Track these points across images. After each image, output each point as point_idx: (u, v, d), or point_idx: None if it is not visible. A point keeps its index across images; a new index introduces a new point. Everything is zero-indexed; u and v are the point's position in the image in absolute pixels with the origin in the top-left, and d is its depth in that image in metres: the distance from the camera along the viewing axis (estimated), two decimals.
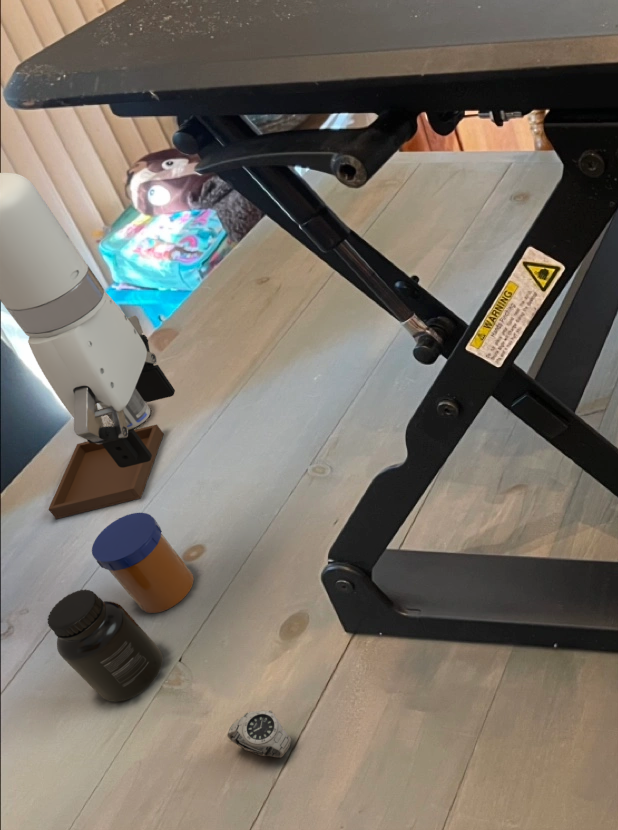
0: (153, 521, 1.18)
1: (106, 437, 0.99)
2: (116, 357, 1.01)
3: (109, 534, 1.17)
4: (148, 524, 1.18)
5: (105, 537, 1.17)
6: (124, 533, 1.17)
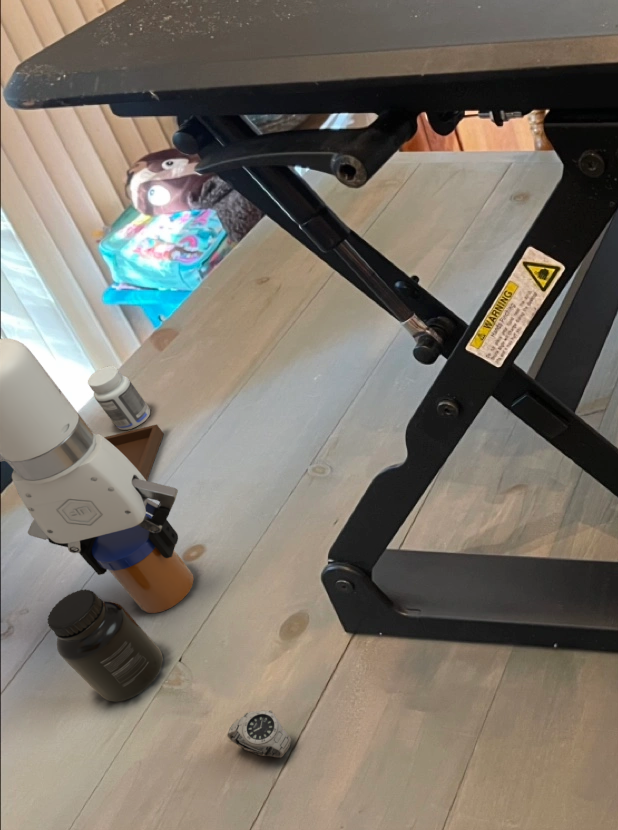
0: None
1: None
2: None
3: (109, 534, 1.17)
4: None
5: (105, 537, 1.17)
6: (124, 533, 1.17)
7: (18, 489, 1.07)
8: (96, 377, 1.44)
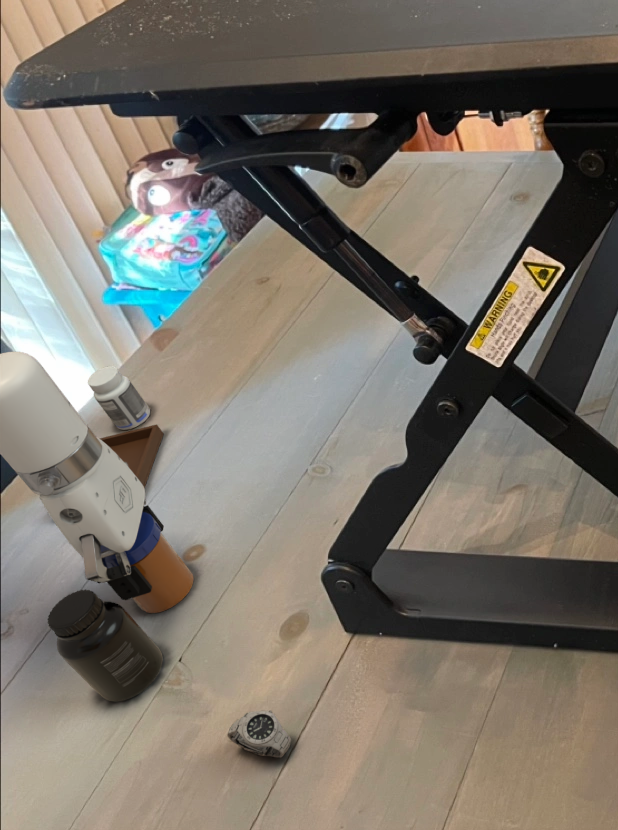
0: None
1: None
2: None
3: None
4: None
5: None
6: None
7: (89, 493, 1.08)
8: (96, 377, 1.44)
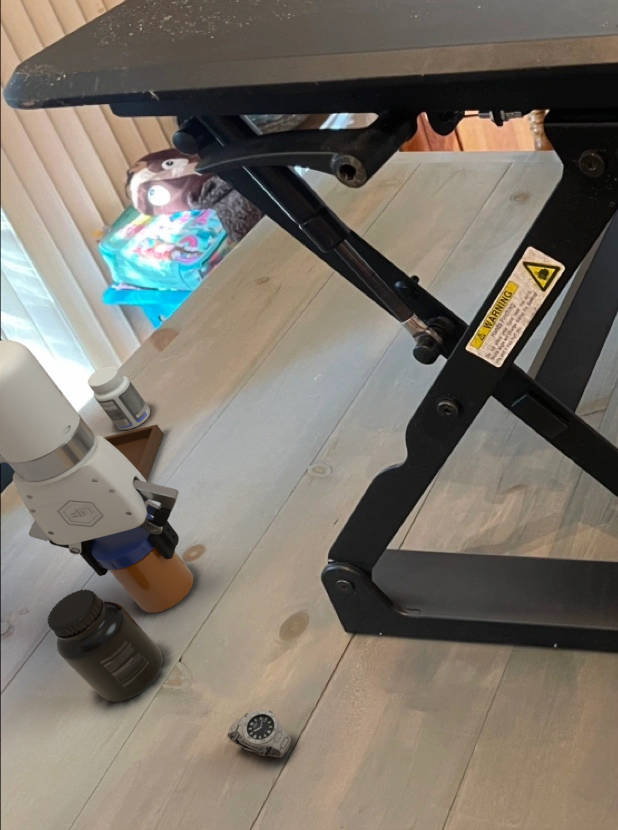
0: None
1: None
2: None
3: (111, 550, 1.15)
4: None
5: (113, 551, 1.15)
6: (118, 536, 1.17)
7: (19, 490, 1.08)
8: (96, 377, 1.44)
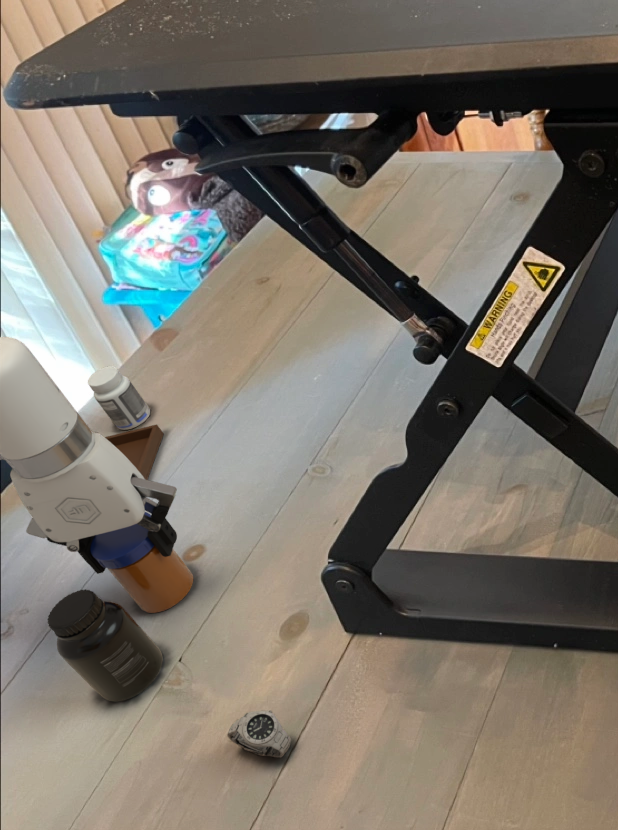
0: (92, 553, 1.15)
1: None
2: None
3: (138, 534, 1.16)
4: (97, 549, 1.15)
5: (141, 530, 1.17)
6: (121, 537, 1.16)
7: (17, 488, 1.07)
8: (96, 377, 1.44)
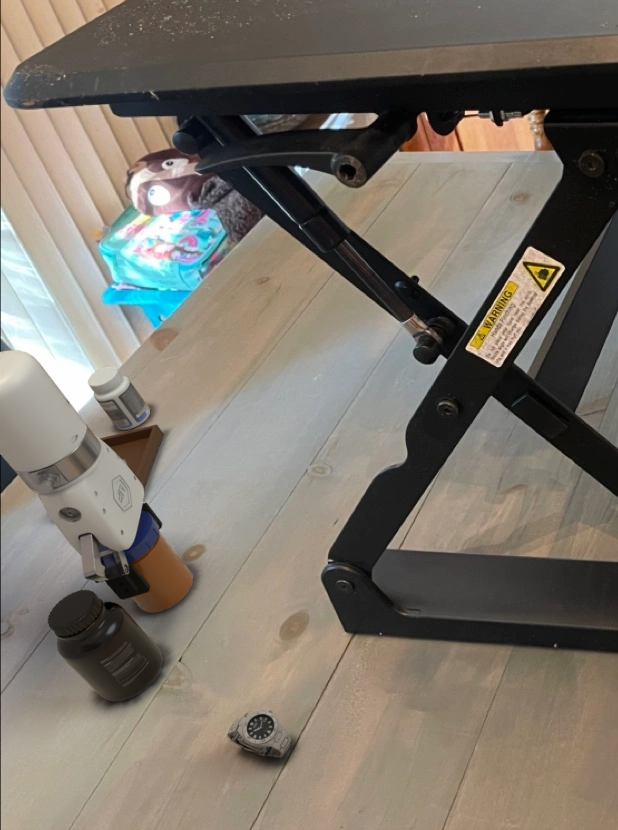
0: (133, 548, 1.15)
1: None
2: None
3: None
4: None
5: None
6: None
7: (88, 492, 1.08)
8: (96, 377, 1.44)
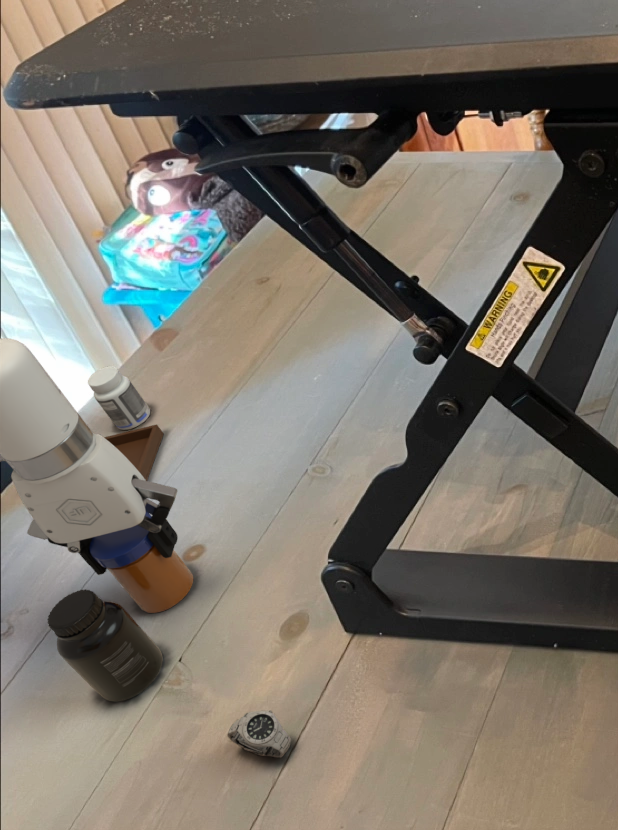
0: (132, 548, 1.15)
1: None
2: None
3: None
4: (129, 546, 1.15)
5: None
6: (125, 532, 1.17)
7: (18, 489, 1.07)
8: (96, 377, 1.44)
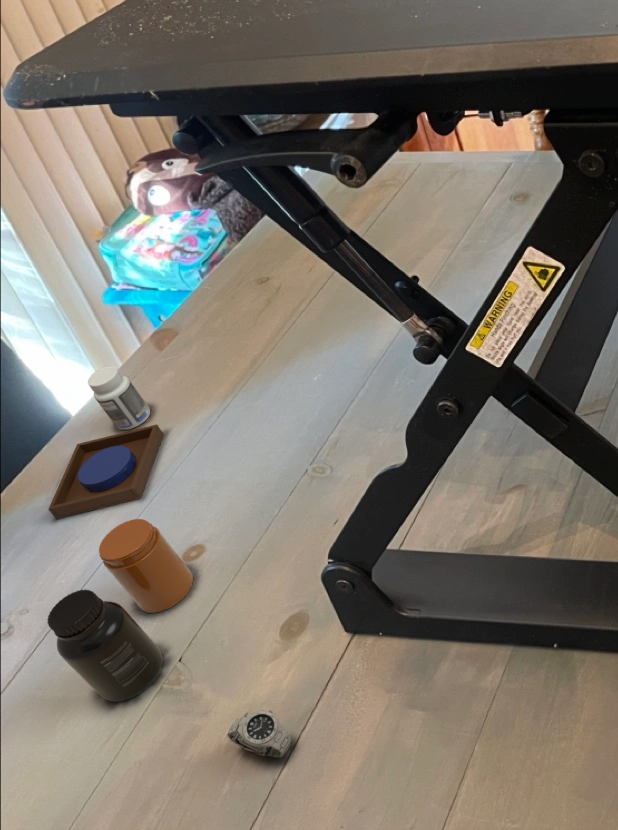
0: (95, 454, 1.41)
1: None
2: None
3: (97, 475, 1.38)
4: (97, 455, 1.41)
5: (99, 476, 1.38)
6: (100, 466, 1.39)
7: None
8: (96, 377, 1.44)
